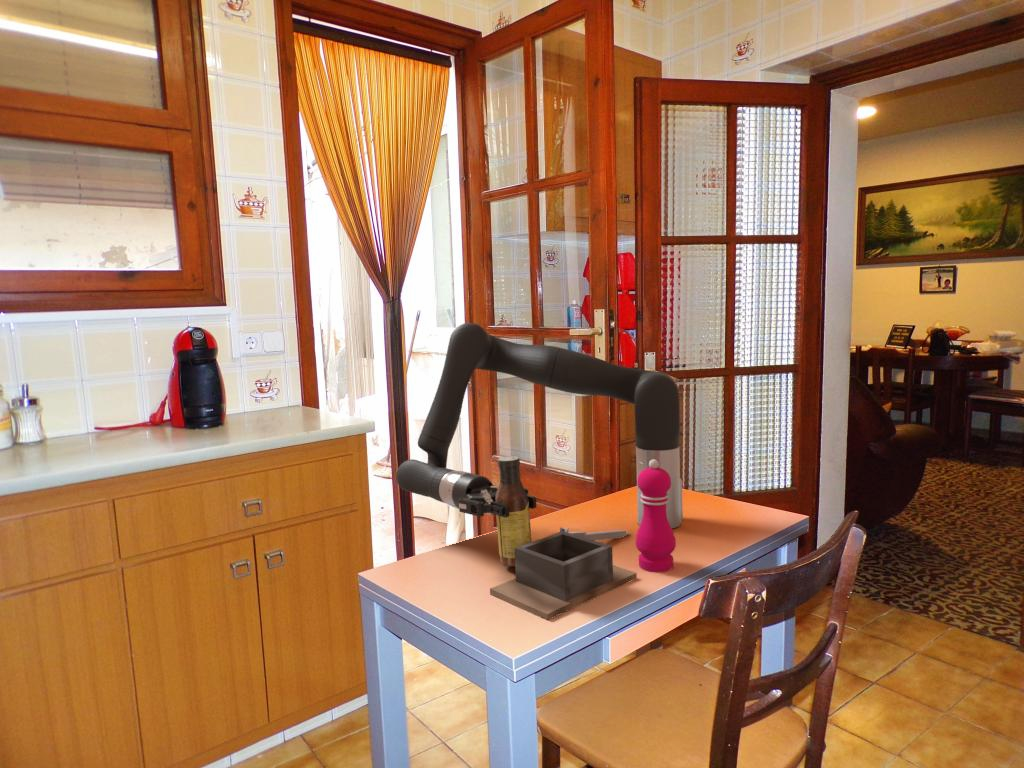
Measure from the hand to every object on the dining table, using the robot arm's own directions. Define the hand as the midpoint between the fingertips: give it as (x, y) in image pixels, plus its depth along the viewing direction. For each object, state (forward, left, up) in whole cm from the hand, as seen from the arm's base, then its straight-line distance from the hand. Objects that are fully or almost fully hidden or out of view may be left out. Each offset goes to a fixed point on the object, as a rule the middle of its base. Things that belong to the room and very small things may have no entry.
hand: (521, 507), depth 124 cm
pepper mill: (-18, +17, -12) cm, 27 cm away
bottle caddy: (0, +11, -12) cm, 16 cm away
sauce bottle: (0, -2, -11) cm, 11 cm away
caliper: (-18, +1, -12) cm, 22 cm away
